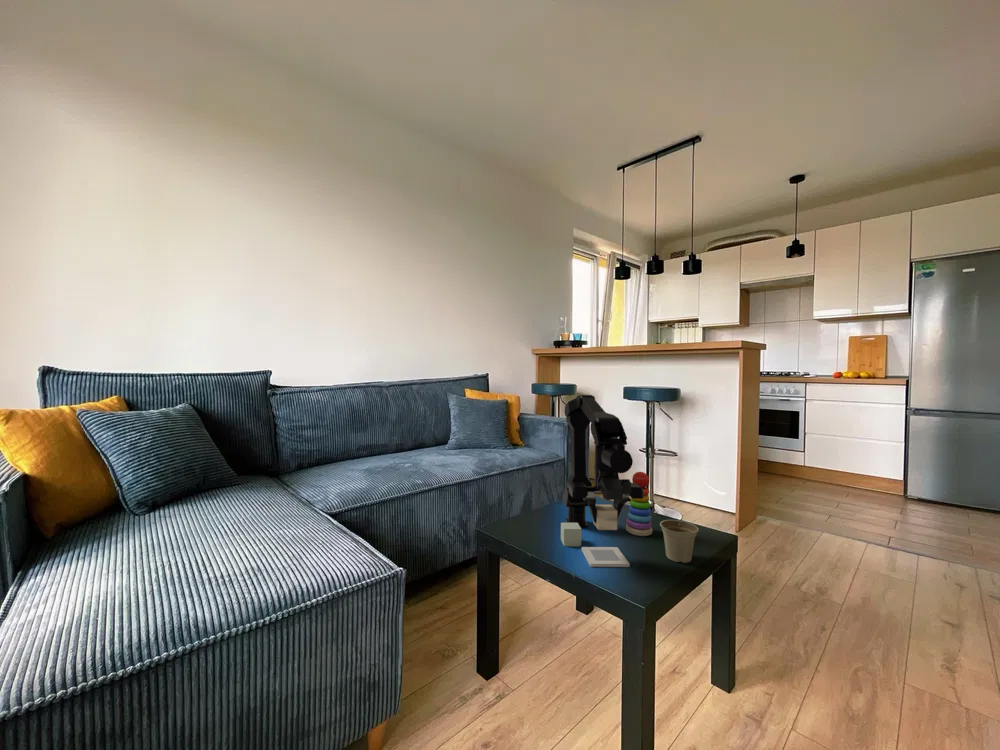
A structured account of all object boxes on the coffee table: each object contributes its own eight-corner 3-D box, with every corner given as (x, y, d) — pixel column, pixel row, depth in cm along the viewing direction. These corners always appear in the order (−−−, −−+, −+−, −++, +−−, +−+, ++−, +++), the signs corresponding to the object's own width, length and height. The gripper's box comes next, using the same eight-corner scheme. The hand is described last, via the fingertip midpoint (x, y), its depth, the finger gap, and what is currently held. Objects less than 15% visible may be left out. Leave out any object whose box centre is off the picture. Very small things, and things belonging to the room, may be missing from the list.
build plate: (581, 549, 113) (581, 546, 113) (617, 549, 113) (617, 547, 113) (590, 566, 103) (590, 563, 103) (629, 566, 103) (629, 563, 103)
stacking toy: (647, 539, 121) (648, 476, 121) (621, 532, 126) (622, 472, 126) (655, 531, 127) (656, 471, 127) (630, 525, 132) (631, 468, 132)
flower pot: (694, 570, 102) (695, 535, 102) (655, 559, 107) (656, 527, 107) (700, 556, 110) (701, 524, 110) (664, 547, 115) (664, 517, 115)
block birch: (593, 522, 111) (593, 504, 111) (611, 522, 111) (611, 504, 111) (598, 529, 106) (598, 510, 106) (617, 529, 106) (617, 510, 106)
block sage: (560, 539, 120) (560, 522, 120) (577, 539, 120) (577, 522, 120) (563, 546, 115) (563, 528, 115) (581, 546, 115) (581, 528, 115)
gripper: (577, 471, 100) (576, 534, 100) (652, 471, 100) (651, 534, 100) (568, 461, 111) (567, 518, 111) (636, 461, 111) (635, 518, 112)
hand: (604, 522), depth 108 cm, fingers closed on block birch, 5 cm apart
